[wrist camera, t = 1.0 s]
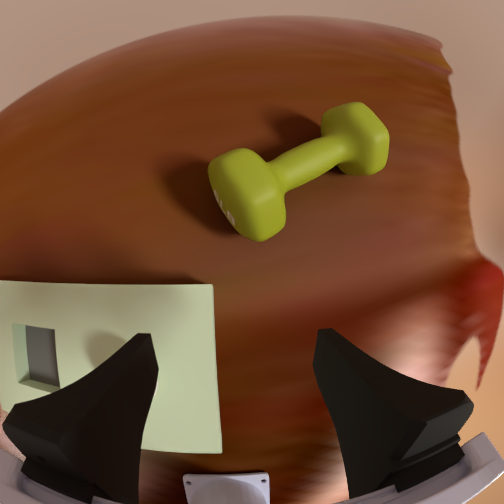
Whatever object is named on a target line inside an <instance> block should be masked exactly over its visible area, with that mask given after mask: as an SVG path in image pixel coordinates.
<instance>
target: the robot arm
mask: <svg viewBox="0 0 504 504" xmlns="http://www.w3.org/2000/svg"><path fill="white" fill-rule="evenodd" d="M313 368H314V372H315V376H316V380H317V384H318V386H319V389H320V391H321V394H322V396H323V399H324V401H325V403H326V406H327V408H328V411H329V413H330V415H331V418H332V420H333V423H334V426H335V429H336V432H337V436H338V440H339V444H340V448H341V452H342V457H343V461H344V466H345V472H346V477H347V484H348V491H349V500H346V501H342V502H338V503H334V504H465V503H466V502H468V501H469V500H471V499H472V498H473V497H475V496H476V495H478V494H479V493H480V492H481V491H483V490H484V489H485V488H486V487H488V486H489V485H490V484H491V483H493V482H494V481H495V480H496V479H497V478H498V477H499V476H500V475H502V474H503V473H504V460H503V459H502V457H501V456H500V454H499V453H498V451H497V450H496V448H495V447H494V446H493V444H492V443H491V441H490V440H489V439H488V437H487V436H486V434H485V433H484V432H482V433H480V434H479V435H477V436H476V437H474V438H473V439H471V440H470V441H468V442H466V443H465V444H464V445H463V446H461V447H460V446H459V444H458V442H459V441H460V437H459V435H458V434H457V433H458V431H460V429H461V428H462V427H463V425H464V424H465V423H466V421H467V420H468V418H469V417H470V415H471V414H472V411H473V408H474V404H473V402H472V401H471V400H470V399H469V397H468V396H467V395H466V394H465V392H464V391H463V390H457V389H451V388H445V387H440V386H436V385H432V384H428V383H425V382H422V381H419V380H416V379H413V378H411V377H408V376H406V375H403V374H401V373H399V372H397V371H395V370H393V369H391V368H389V367H387V366H385V365H383V364H382V363H380V362H378V361H377V360H375V359H374V358H372V357H370V356H369V355H367V354H366V353H364V352H363V351H362V350H360V349H359V348H357V347H356V346H355V345H353V344H352V343H351V342H349V341H348V340H347V339H345V338H344V337H343V336H341V335H340V334H339V333H338V332H336V331H335V330H333V329H332V328H329V329H318V335H317V342H316V348H315V354H314V360H313ZM158 372H159V367H158V363H157V359H156V355H155V350H154V346H153V342H152V337H151V333H137V334H136V335H135V336H133V337H132V338H131V339H130V340H129V341H128V342H127V343H125V344H124V345H123V346H122V347H121V348H120V349H119V350H117V351H116V352H115V353H114V354H113V355H112V356H111V357H109V358H108V359H107V360H106V361H104V362H103V363H102V364H100V365H99V366H98V367H97V368H95V369H94V370H93V371H91V372H90V373H88V374H87V375H85V376H84V377H82V378H80V379H79V380H77V381H75V382H74V383H72V384H70V385H68V386H66V387H64V388H62V389H60V390H58V391H55V392H53V393H50V394H48V395H45V396H42V397H40V398H36V399H33V400H29V401H25V402H21V403H16V404H14V406H13V408H12V409H11V411H10V413H9V414H8V416H7V417H6V419H5V421H4V422H3V424H2V426H3V430H4V432H5V434H6V435H7V437H8V438H9V439H10V440H11V441H12V443H13V444H14V445H15V446H16V447H17V448H18V449H19V450H20V451H21V452H22V454H23V455H24V456H25V457H26V459H25V461H24V462H23V461H21V460H20V459H19V458H17V457H15V456H14V455H12V454H10V453H8V452H7V451H5V450H3V449H2V448H0V503H1V504H139V496H138V483H139V464H140V453H141V445H142V438H143V432H144V428H145V424H146V420H147V417H148V413H149V410H150V407H151V403H152V400H153V397H154V393H155V390H156V385H157V379H158ZM263 479H265V481H261V480H263ZM187 481H189V482H191V483H188V482H187ZM183 482H184V487H185V492H186V497H187V501H188V504H270V499H269V475H268V473H266V472H259V473H246V474H224V475H200V474H185V475H184V476H183Z"/></svg>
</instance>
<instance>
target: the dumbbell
mask: <svg viewBox="0 0 504 504" xmlns="http://www.w3.org/2000/svg"><path fill="white" fill-rule="evenodd" d="M388 149H389V133H388V131H387V129H386V127H385V126H384V125H383V123H382V122H381V121H380V120H379V119H378V117H377V116H376V115H375V114H374V113H373V112H372V111H371V110H370V109H369V108H368V107H367V106H366V105H364V104H363V103H361V102H351V103H347V104H343V105H340V106H337V107H334V108H332V109H330V110H328V111H326V112H325V113H324V114H323V116H322V120H321V137H320V138H317V139H314V140H311V141H309V142H306V143H304V144H302V145H299V146H297V147H295V148H293V149H291V150H289V151H287V152H285V153H283V154H281V155H280V156H278V157H277V158H275V159H274V160H272V161H270V162H265V161H264V160H263V159H262V158H261V157H260V156H259V155H258V154H256V153H255V152H253V151H252V150H249V149H247V148H238V149H234V150H231V151H229V152H226V153H224V154H222V155H220V156H218V157H216V158H215V159H213V160H212V161H211V162H210V164H209V166H208V176H209V180H210V184H211V187H212V190H213V193H214V196H215V198H216V200H217V202H218V204H219V206H220V208H221V210H222V212H223V213H224V215H225V216H226V218H227V219H228V221H229V222H230V223H231V225H232V226H233V227H234V228H235V230H236V231H237V232H238V233H240V234H241V235H243V236H244V237H246V238H248V239H250V240H253V241H257V242H261V241H264V240H267V239H268V238H270V237H272V236H273V235H275V234H276V233H278V232H279V231H280V230H281V229H282V228H283V227H284V225H285V221H286V210H285V202H284V194H285V193H286V192H287V191H289V190H291V189H294V188H296V187H298V186H301V185H303V184H305V183H307V182H309V181H311V180H313V179H315V178H316V177H318V176H320V175H322V174H323V173H325V172H327V171H328V170H330V169H331V168H333V167H334V166H335V165H337V166H338V168H339V169H340V170H341V171H342V172H343V173H345V174H348V175H357V176H362V175H372V174H374V173H376V172H378V171H380V170H381V169H383V168H384V166H385V164H386V161H387V156H388Z"/></svg>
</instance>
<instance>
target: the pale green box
mask: <svg viewBox="0 0 504 504" xmlns="http://www.w3.org/2000/svg"><path fill="white" fill-rule="evenodd" d="M137 333H151V337H152V342H153V346H154V350H155V355H156V359H157V363H158V367H159V372H158V389H157V392H156V394H155V396H154V397H153V400H152V403H151V407H150V410H149V413H148V417H147V420H146V424H145V428H144V432H143V438H142V445H141V449H147V450H156V451H167V452H183V453H222V436H221V425H220V412H219V399H218V384H217V368H216V349H215V327H214V298H213V286H212V284H191V285H115V284H69V283H41V282H20V281H2V280H0V403H1V407H2V410H4V411H7V412H9V413H10V411H11V409H12V408H13V406H14V404H16V403H21V402H25V401H29V400H33V399H36V398H40V397H42V396H45V395H48V394H50V393H53V392H55V391H58V390H60V389H62V388H64V387H66V386H68V385H70V384H72V383H74V382H75V381H77V380H79V379H80V378H82V377H84V376H85V375H87V374H88V373H90V372H91V371H93V370H94V369H95V368H97V367H98V366H99V365H100V364H102V363H103V362H104V361H106V360H107V359H108V358H109V357H111V356H112V355H113V354H114V353H115V352H116V351H117V350H119V349H120V348H121V347H122V346H123V345H124V344H125V343H127V342H128V341H129V340H130V339H131V338H132V337H133V336H135V335H136V334H137Z"/></svg>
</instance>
